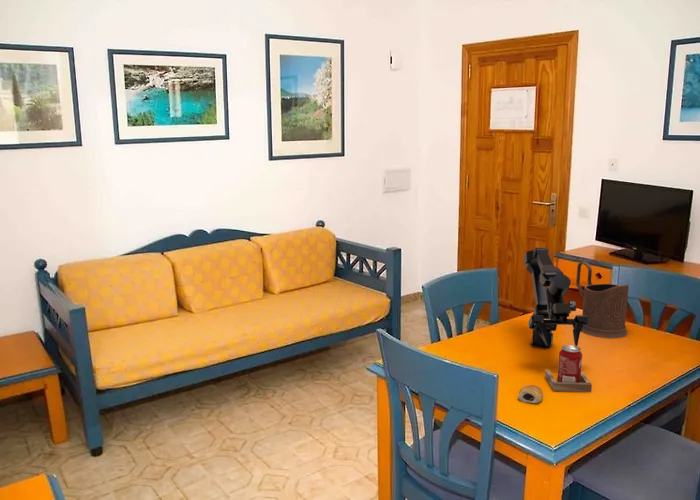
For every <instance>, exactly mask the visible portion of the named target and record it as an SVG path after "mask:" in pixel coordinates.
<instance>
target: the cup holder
mask: <svg viewBox="0 0 700 500" xmlns="http://www.w3.org/2000/svg"><path fill="white" fill-rule="evenodd" d="M582 265H584V266H585V267H586V268H587V285H585V286H584V289H583V287H582V286H581V272H582V271H581V270H582ZM576 267H577V268H576V280H575V281H576V282H575V285H576V287H577V289H578V291H579V293H580V295H581V297H582V299H583V301H582V302H583V304H582V313H581V315H587V316H588V318H589V321H590V323H589V325H588V326H587V328H586V329H584V330H583V331H581V332H580V333H583V334H585V335H588V336H591V337H595V338H600V339H601V338H602V339H611V340H612V339H622V338H625V337H627V336H628V334H629V332H628V330H627V326H626V319H627V308H628V300H629V298H628V296H629V289H630V286H629V284H623V285H619V284H614V283H598V284H597V283H595V284H592V283H593V282H592V274H593V269H592V268H593V267H592V266H591V264H589V262H586V261H583V262H582V261H581V262H579V263H578V264H577V266H576Z"/></svg>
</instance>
